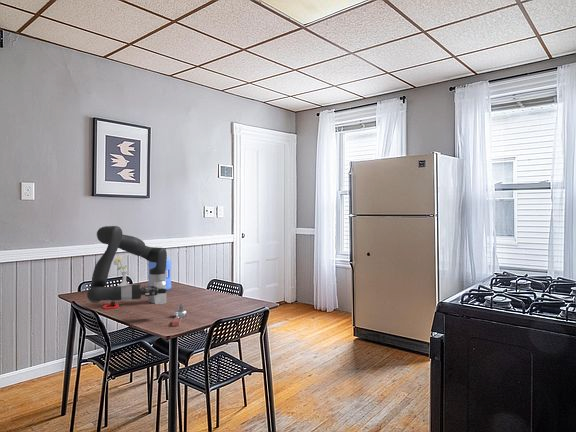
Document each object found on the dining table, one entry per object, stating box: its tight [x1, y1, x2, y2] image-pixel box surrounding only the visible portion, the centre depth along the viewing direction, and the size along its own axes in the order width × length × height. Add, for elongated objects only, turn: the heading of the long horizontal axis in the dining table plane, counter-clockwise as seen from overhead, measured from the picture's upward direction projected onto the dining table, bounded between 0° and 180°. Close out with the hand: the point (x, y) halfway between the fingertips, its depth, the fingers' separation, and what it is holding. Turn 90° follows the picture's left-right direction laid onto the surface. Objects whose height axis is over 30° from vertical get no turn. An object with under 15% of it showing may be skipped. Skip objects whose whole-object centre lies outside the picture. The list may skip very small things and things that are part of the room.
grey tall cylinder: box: [154, 281, 167, 305], centre depth 217 cm, size 6×6×11 cm
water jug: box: [147, 257, 172, 291], centre depth 294 cm, size 16×16×28 cm
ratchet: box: [171, 303, 188, 327], centre depth 214 cm, size 22×6×7 cm, turn 7°
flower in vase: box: [113, 254, 131, 286], centre depth 288 cm, size 13×11×25 cm
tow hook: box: [102, 283, 120, 310], centre depth 240 cm, size 8×13×9 cm
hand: (165, 289), depth 218 cm, fingers closed on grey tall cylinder, 5 cm apart
